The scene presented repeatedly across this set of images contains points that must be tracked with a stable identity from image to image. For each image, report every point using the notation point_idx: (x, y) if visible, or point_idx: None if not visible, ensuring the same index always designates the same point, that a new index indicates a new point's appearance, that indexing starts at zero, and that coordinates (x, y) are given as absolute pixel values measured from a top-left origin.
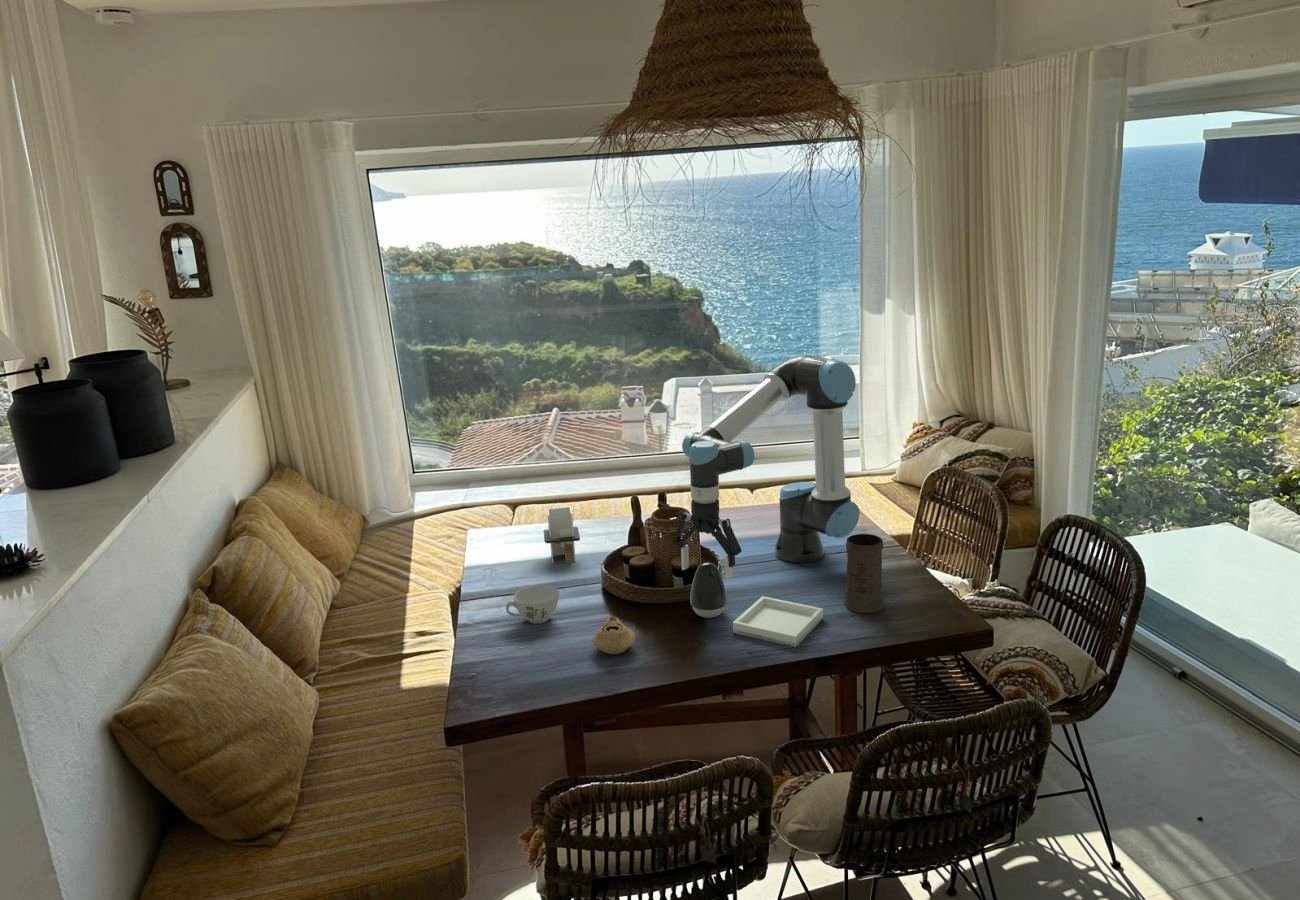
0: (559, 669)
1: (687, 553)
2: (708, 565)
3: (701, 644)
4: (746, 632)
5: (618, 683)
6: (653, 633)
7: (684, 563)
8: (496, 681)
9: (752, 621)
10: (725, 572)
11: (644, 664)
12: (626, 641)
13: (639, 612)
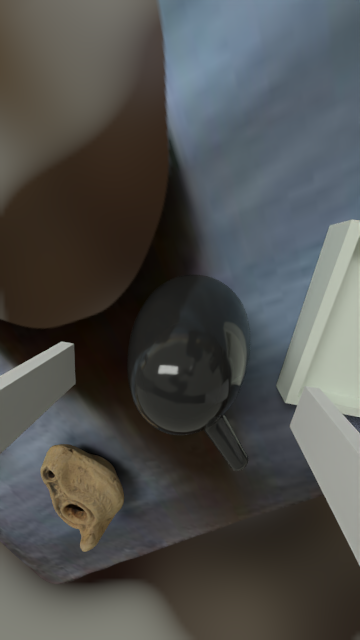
0: None
1: (3, 402)
2: (190, 428)
3: None
4: None
5: (152, 533)
6: (126, 416)
7: (51, 399)
8: (25, 536)
9: (321, 346)
10: (306, 456)
11: (161, 496)
12: (115, 511)
13: None
